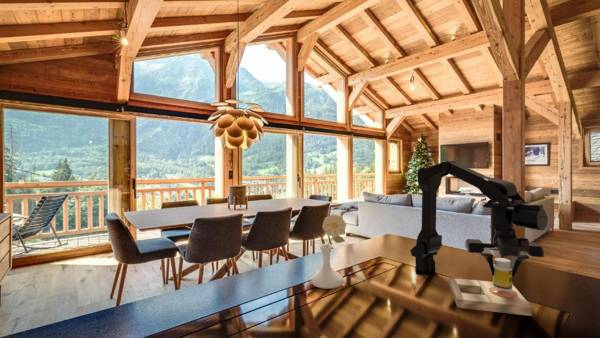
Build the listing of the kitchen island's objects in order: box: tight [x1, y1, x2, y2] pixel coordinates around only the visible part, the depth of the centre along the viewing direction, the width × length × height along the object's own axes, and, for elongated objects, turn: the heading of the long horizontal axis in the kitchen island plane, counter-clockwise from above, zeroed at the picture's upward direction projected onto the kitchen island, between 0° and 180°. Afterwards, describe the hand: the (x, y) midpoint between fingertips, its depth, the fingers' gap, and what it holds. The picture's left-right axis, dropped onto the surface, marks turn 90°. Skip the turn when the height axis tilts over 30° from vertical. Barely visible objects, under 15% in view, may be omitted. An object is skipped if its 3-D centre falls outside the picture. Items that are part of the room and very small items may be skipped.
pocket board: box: [448, 277, 533, 317], centre depth 91 cm, size 18×16×2 cm
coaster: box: [489, 287, 518, 298], centre depth 90 cm, size 7×7×1 cm
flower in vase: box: [310, 213, 347, 290], centre depth 104 cm, size 13×11×25 cm
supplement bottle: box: [492, 257, 513, 291], centre depth 90 cm, size 5×5×8 cm
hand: (502, 276), depth 90 cm, fingers closed on supplement bottle, 5 cm apart
